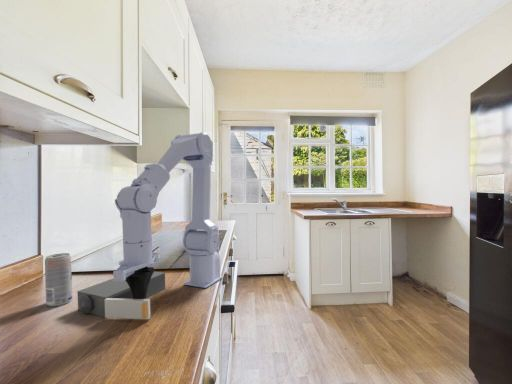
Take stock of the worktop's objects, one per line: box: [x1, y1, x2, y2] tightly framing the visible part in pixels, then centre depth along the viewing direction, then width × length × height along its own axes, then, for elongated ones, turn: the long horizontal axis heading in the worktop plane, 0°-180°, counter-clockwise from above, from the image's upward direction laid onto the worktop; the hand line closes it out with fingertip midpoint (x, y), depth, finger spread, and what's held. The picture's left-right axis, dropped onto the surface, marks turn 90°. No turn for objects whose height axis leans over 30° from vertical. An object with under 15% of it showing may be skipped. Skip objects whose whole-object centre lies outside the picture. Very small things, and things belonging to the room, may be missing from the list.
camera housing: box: [77, 270, 166, 318], centre depth 68 cm, size 19×10×4 cm, turn 156°
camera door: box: [104, 298, 151, 320], centre depth 57 cm, size 10×1×4 cm, turn 84°
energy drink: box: [44, 252, 73, 308], centre depth 67 cm, size 5×5×12 cm
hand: (139, 302), depth 58 cm, fingers closed, pressing on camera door
